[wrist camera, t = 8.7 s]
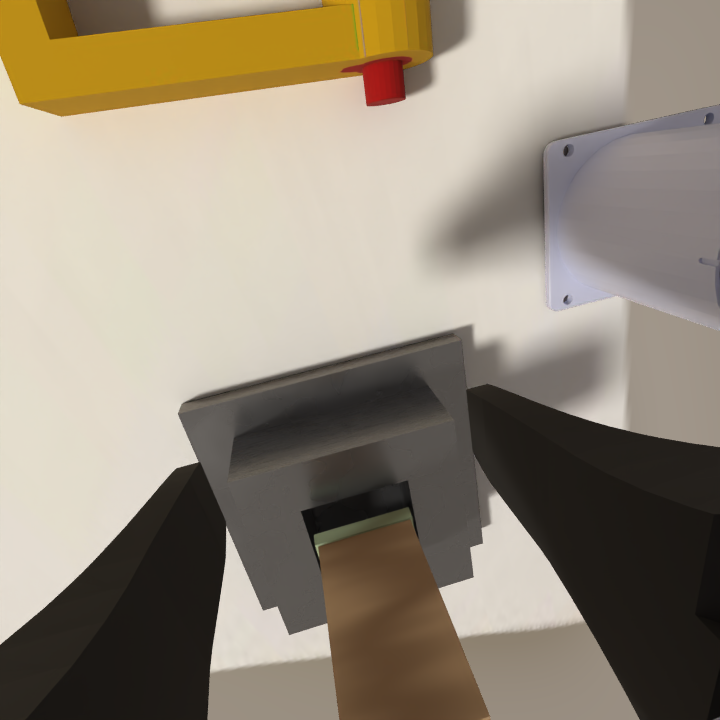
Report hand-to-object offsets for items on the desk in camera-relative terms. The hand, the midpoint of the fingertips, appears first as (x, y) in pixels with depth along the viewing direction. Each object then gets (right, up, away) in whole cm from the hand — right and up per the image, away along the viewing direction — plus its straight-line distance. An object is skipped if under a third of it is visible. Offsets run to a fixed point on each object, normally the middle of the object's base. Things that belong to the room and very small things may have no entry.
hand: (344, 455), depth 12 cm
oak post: (+1, -6, +8) cm, 10 cm away
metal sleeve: (0, -4, +13) cm, 14 cm away
